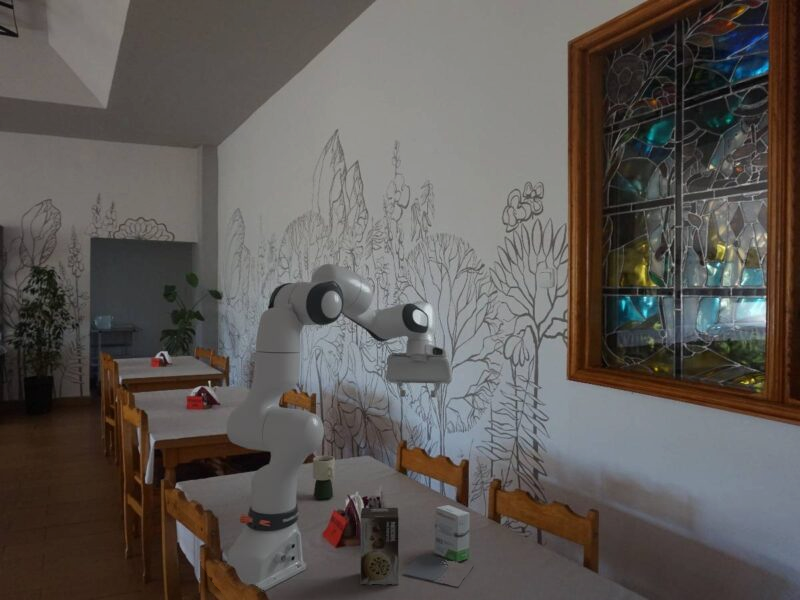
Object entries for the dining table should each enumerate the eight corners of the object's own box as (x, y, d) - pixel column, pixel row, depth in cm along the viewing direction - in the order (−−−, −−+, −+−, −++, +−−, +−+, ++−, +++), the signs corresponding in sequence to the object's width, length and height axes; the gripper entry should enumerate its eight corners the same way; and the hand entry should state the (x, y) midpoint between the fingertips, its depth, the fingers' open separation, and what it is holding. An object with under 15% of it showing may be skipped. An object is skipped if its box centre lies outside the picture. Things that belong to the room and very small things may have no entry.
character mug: (341, 500, 202) (342, 460, 202) (322, 505, 198) (323, 464, 197) (324, 491, 211) (324, 452, 210) (305, 495, 206) (306, 456, 206)
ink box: (469, 559, 160) (471, 512, 160) (455, 563, 157) (457, 515, 157) (446, 548, 167) (448, 503, 167) (432, 552, 164) (434, 506, 164)
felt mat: (458, 587, 145) (458, 585, 145) (403, 575, 151) (403, 573, 151) (473, 566, 156) (473, 565, 156) (421, 555, 162) (421, 554, 162)
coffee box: (397, 572, 152) (399, 507, 152) (398, 585, 146) (399, 517, 146) (360, 572, 152) (361, 506, 152) (359, 585, 146) (360, 516, 145)
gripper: (385, 349, 194) (382, 393, 189) (451, 350, 190) (450, 394, 185) (389, 356, 200) (386, 398, 194) (453, 356, 196) (452, 400, 191)
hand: (417, 396), depth 190 cm, fingers open, 8 cm apart
